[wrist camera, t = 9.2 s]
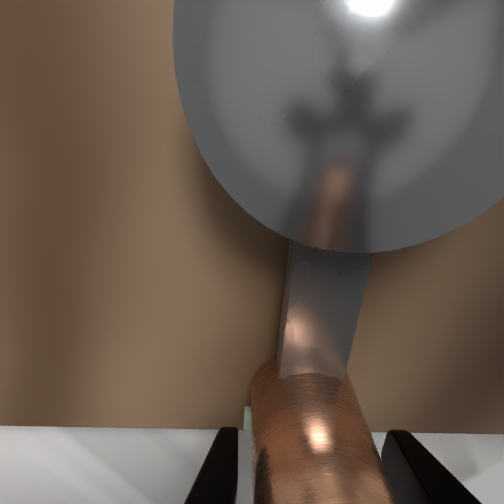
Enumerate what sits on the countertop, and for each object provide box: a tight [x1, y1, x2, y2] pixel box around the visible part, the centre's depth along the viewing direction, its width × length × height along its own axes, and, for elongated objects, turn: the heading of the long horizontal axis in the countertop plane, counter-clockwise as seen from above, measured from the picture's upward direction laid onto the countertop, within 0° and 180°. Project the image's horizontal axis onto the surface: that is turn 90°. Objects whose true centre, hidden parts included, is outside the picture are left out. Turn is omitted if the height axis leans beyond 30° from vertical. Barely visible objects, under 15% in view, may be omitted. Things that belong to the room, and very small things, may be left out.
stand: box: [0, 0, 504, 434], centre depth 7 cm, size 21×14×3 cm, turn 87°
